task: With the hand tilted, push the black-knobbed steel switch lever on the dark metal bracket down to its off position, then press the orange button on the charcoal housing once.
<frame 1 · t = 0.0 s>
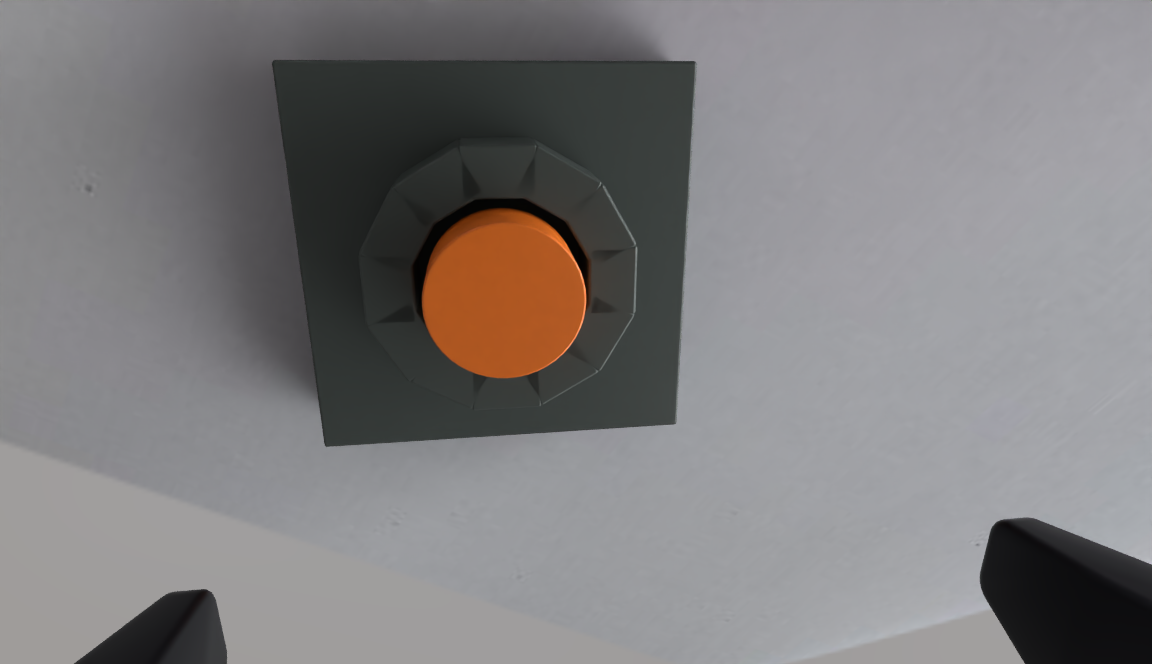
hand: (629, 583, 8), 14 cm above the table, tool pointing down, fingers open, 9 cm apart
button box: (497, 246, 21), on the table
button: (503, 292, 16), point 4 cm above the table, slide at 0.1 cm
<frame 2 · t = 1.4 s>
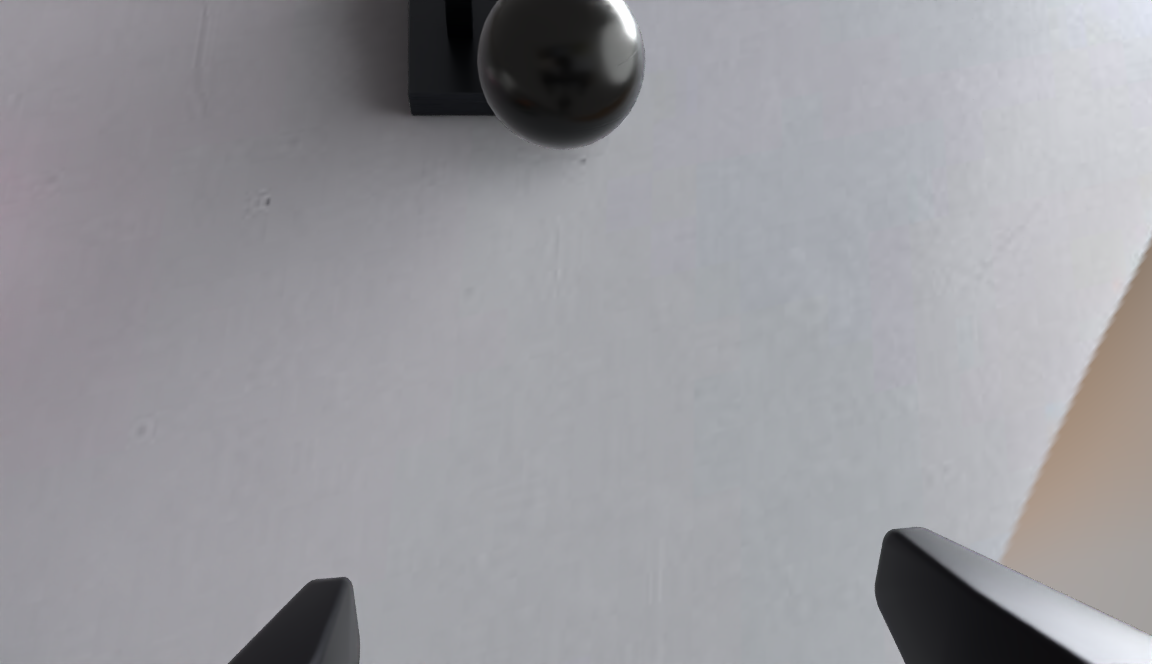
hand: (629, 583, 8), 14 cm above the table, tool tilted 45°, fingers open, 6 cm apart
bracket: (508, 22, 30), on the table
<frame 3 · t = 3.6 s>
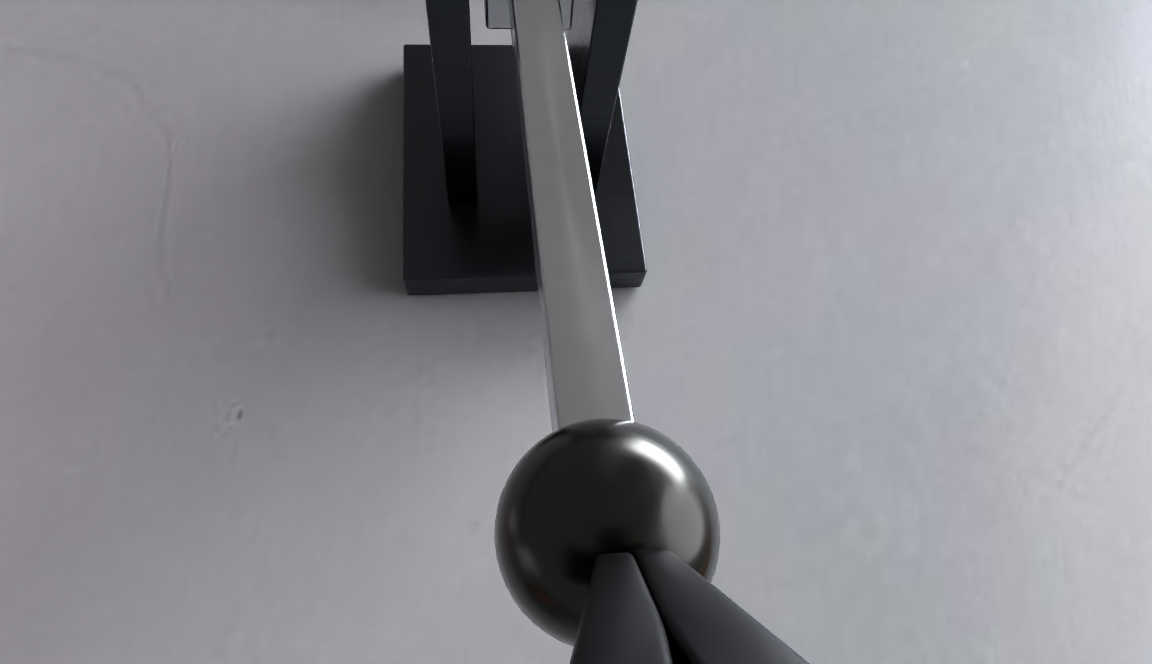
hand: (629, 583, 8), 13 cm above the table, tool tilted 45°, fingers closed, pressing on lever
bracket: (517, 171, 26), on the table
lever: (554, 156, 14), point 10 cm above the table, hinge at 11.3°, touching gripper
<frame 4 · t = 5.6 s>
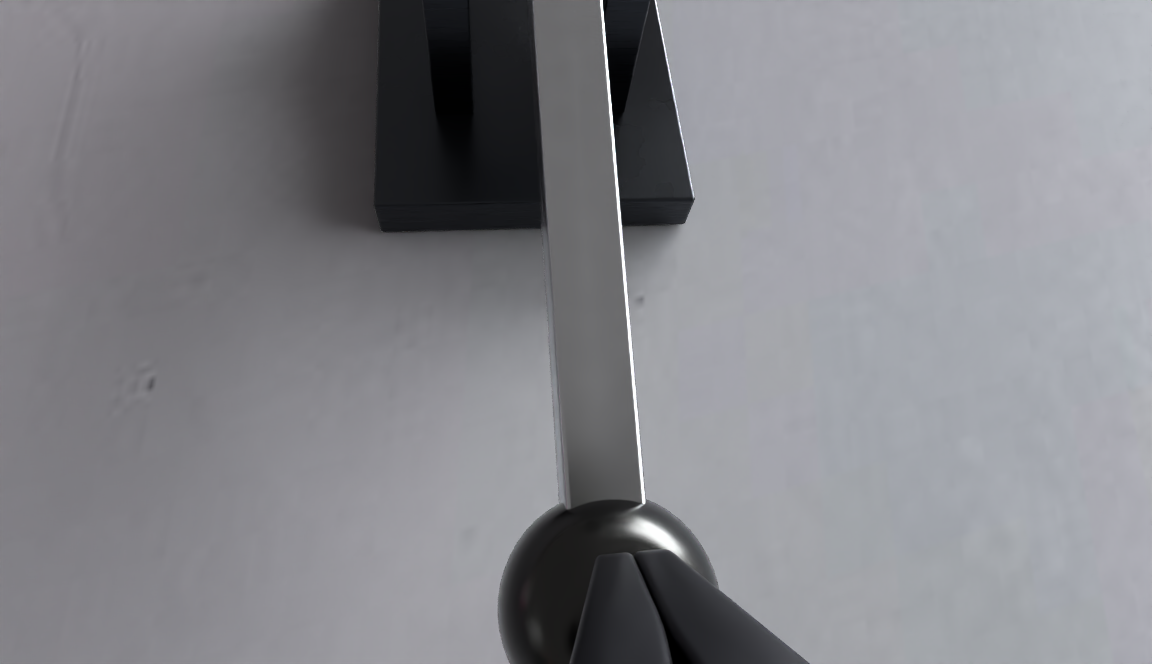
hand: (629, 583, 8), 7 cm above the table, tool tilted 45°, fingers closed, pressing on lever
bracket: (524, 83, 21), on the table
lever: (571, 102, 11), point 7 cm above the table, hinge at -12.9°, touching gripper
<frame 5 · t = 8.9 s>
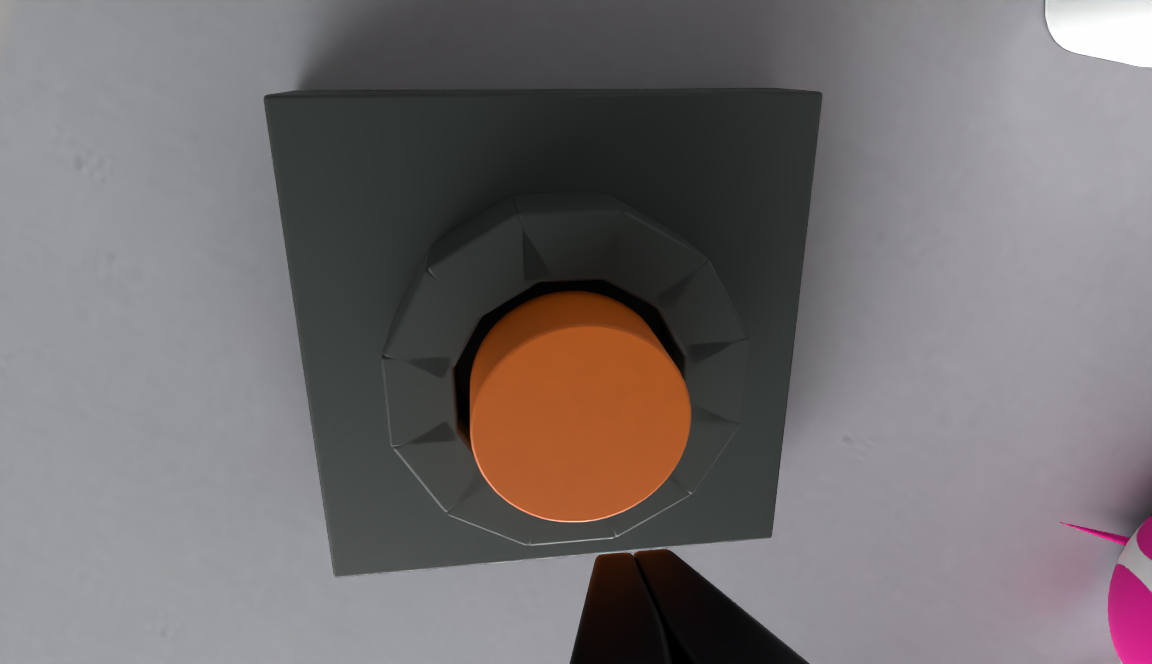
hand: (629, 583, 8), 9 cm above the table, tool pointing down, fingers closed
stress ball: (1138, 535, 22), on the table
button box: (548, 318, 16), on the table
button: (575, 404, 12), point 4 cm above the table, slide at 0.1 cm
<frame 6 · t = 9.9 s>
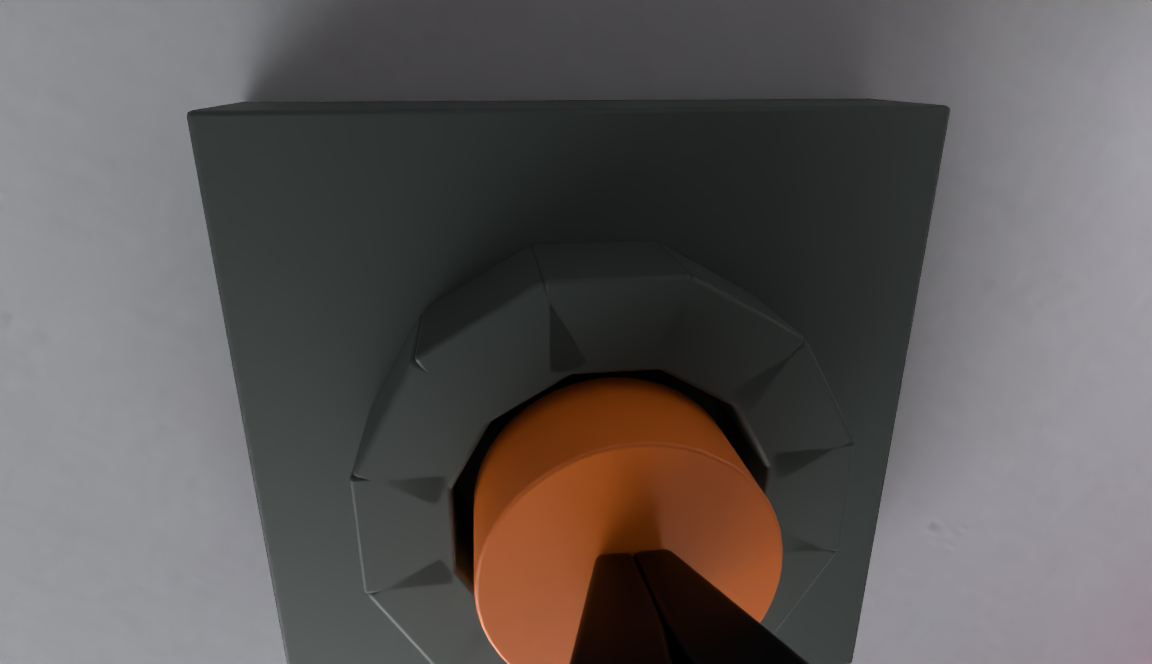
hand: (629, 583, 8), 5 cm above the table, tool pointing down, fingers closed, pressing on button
button box: (572, 388, 13), on the table
button: (618, 535, 9), point 4 cm above the table, slide at 0.0 cm, touching gripper
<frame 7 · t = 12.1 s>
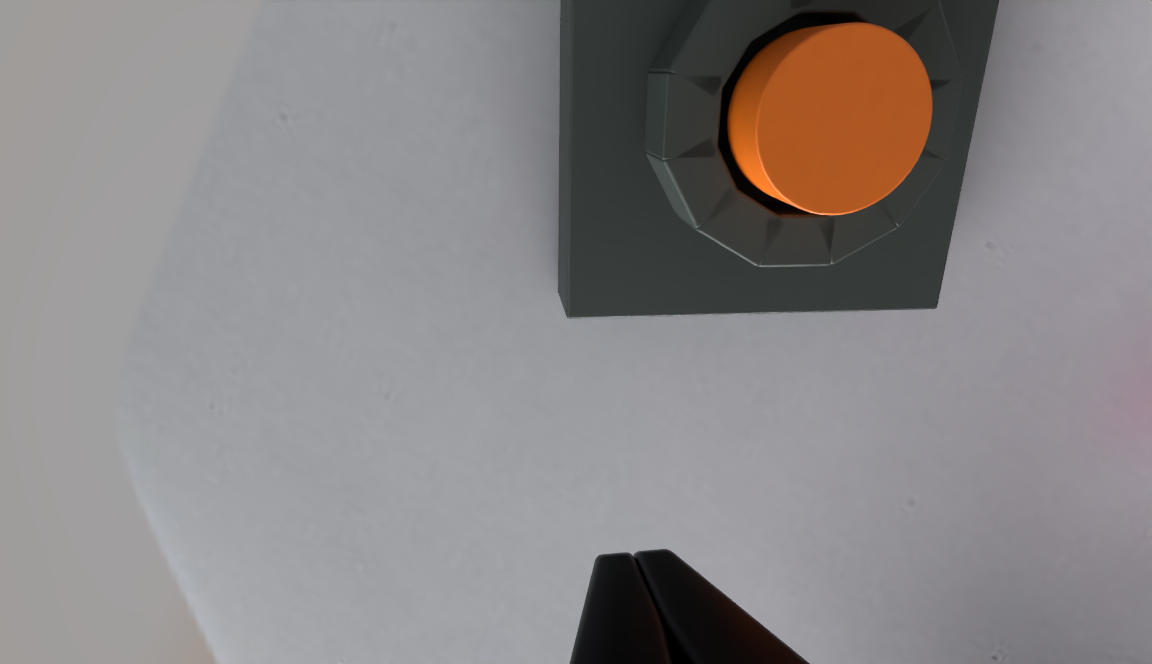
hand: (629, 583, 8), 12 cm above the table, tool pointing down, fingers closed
button box: (748, 108, 19), on the table
button: (825, 120, 15), point 4 cm above the table, slide at 0.1 cm
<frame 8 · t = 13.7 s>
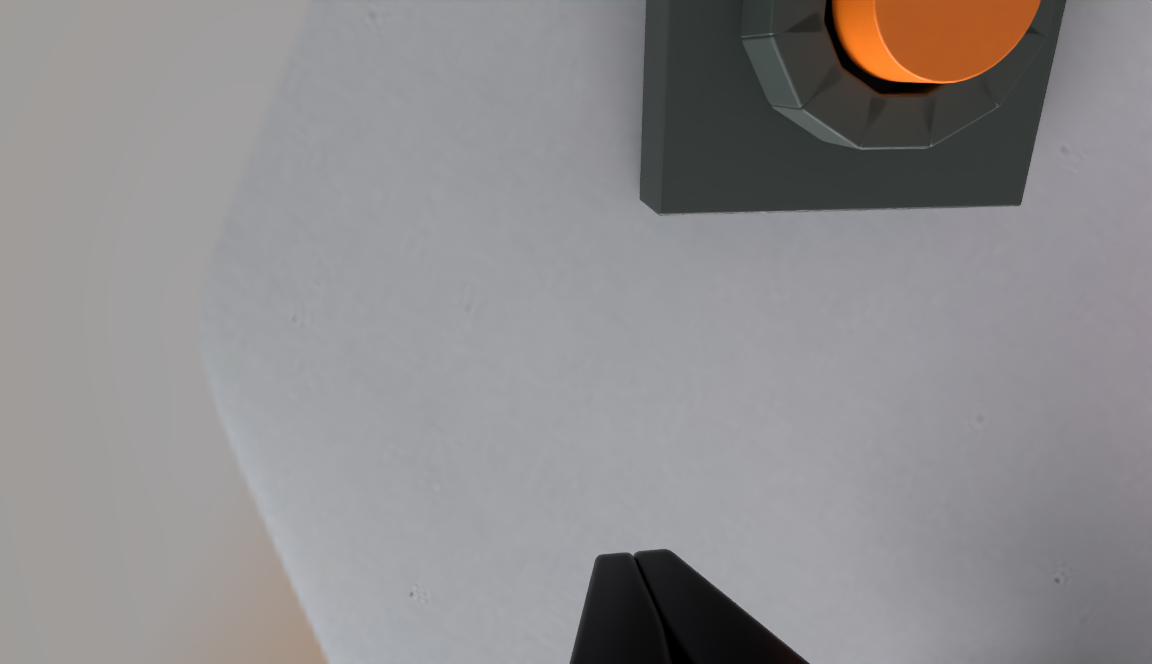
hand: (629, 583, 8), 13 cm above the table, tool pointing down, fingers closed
button box: (831, 6, 19), on the table
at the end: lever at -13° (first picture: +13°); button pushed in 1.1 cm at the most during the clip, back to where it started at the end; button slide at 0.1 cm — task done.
